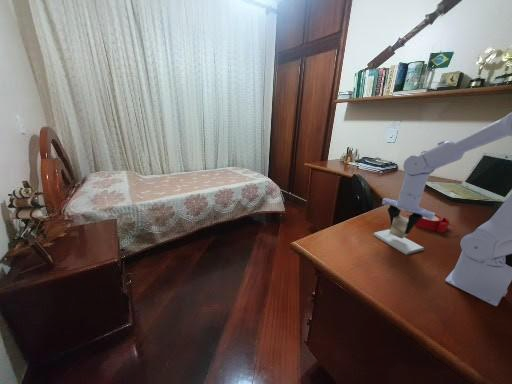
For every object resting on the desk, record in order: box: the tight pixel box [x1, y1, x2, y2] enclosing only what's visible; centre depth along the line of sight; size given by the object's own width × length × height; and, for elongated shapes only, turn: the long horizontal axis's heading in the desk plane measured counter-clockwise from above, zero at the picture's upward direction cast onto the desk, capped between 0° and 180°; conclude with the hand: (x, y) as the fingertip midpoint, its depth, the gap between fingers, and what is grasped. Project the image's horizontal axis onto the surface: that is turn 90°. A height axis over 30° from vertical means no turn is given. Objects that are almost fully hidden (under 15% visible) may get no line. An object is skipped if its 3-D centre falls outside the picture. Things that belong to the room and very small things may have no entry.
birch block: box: [389, 214, 409, 239], centre depth 70 cm, size 4×4×6 cm
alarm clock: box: [406, 214, 458, 234], centre depth 83 cm, size 10×6×15 cm
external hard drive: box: [372, 228, 425, 256], centre depth 72 cm, size 2×8×12 cm
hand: (399, 229), depth 71 cm, fingers closed on birch block, 4 cm apart
